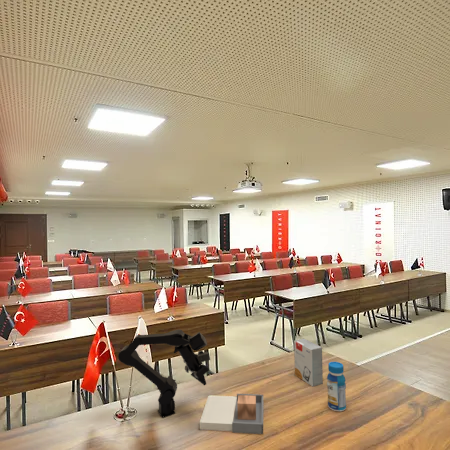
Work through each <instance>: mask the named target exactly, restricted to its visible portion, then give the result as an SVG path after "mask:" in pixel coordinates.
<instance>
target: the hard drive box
mask: <svg viewBox="0 0 450 450" xmlns="http://www.w3.org/2000/svg"><path fill="white" fill-rule="evenodd" d="M293 349H294V350H293V351H294V352H293V354H294V359H293V360H294V376H296V377H297V378H298V379H300V380H302V381H303V382H305V383H306V384H308V385H310V386H311V387H315V386H320V385H323V384H324V380H323V379H324V378H323V377H324V376H323V375H324V374H323V371H324V370H323V347H322V346H320V345H318V344H316V343H314V342H312V341H310V340H308V339H305V338H300V339H296V340H293Z"/></svg>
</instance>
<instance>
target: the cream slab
mask: <svg viewBox="0 0 450 450" xmlns="http://www.w3.org/2000/svg"><path fill="white" fill-rule="evenodd" d="M236 405H237V395H236V396H233V395H231V396H230V395H211V394H210V395H208V396H207V399H206V401H205V405H204V408H203V411H202V414H201V417H200V420H199V430H201V431H202V430H203V431H205V430H206V431H219V432H221V431H224V432H232V422H234V418H235V411H236Z"/></svg>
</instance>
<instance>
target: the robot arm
mask: <svg viewBox="0 0 450 450" xmlns="http://www.w3.org/2000/svg"><path fill="white" fill-rule="evenodd" d="M162 344H164V345H168V346H174V351H173V354H176V353H177V352H178V353H179V355H180V357H181V358H182V359H183V360H182V361H183V363H184V364H185V366H184V370H185V372H186V373H188V374H189V372H190V376H191V377H192V378H194V379H195V380H197V381H198V382H200V384H202V385H203V386H206V385H207V381H206V376H205V375H206V374H207V373H208V372H209V371H210V368H209V366H208V365H207V364H206V365H205V364H203V362H206V361H211V357H210V353H209V352H207V351H203V350H201V349H202V348H205V347H206V346H207V345H208V342H207V339H206V337H205V336H204V335H203V334H202V333H201V331H198V332H196V334H194V335H190V334H187V333H185V332H184V331H183V330H182V329H175V330H171V331H168V332H166V333H154V334H153V333H151V334H137V335H136V336H135V337H134V338H133V340H132V341H130V343H129V344H128V345H125V346H124V347H122V349H121V350H120V351H119V353H118V355H117V359H118V361H119V362H120V363H122V364H124V365H125V366H129V367H132V368H134V369H136V370H137V371H138V372H139V373H140V374H141V375H142V376H144V378H146V379H148V380H149V381H150V382H151V383H152V384H154V385H155V386H156V388H157V389H158V391H159V393H160V394H159V396H158V399H157V401H158V409H157V412H158V414H159V415H160V417H161V418H166V417H169V416H171V415H175V414H176V411H175V410H176V404H175V403H176V402H175V399H174V397H175V396H176V393H177V390H178V383H177V382H176V379H174V378H173V377H172V376H171V375H168V376H167V377H166V376H164V375H162V374H160V373H159V372H158V371H157V370H155V369H154V368H153V367H152V366H151V365H150V364H149V363H147V362H146V361H144V360H143V359H142V357H140V355H139V353H138V351H137V349H138V347H139V346H148V345H162ZM194 351H196V352H197V353H195V352H194Z"/></svg>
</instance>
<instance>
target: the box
mask: <svg viewBox="0 0 450 450" xmlns="http://www.w3.org/2000/svg"><path fill="white" fill-rule="evenodd" d="M238 395H250V396H256V420H244V419H238V407H237V405H236V411H235V418H234V422H232V431H231V432H232V433H237V434H254V435H256V434H257V435H264V407H265V406H264V394H257V393H255V394H253V393H236V397H237V403H238Z"/></svg>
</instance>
